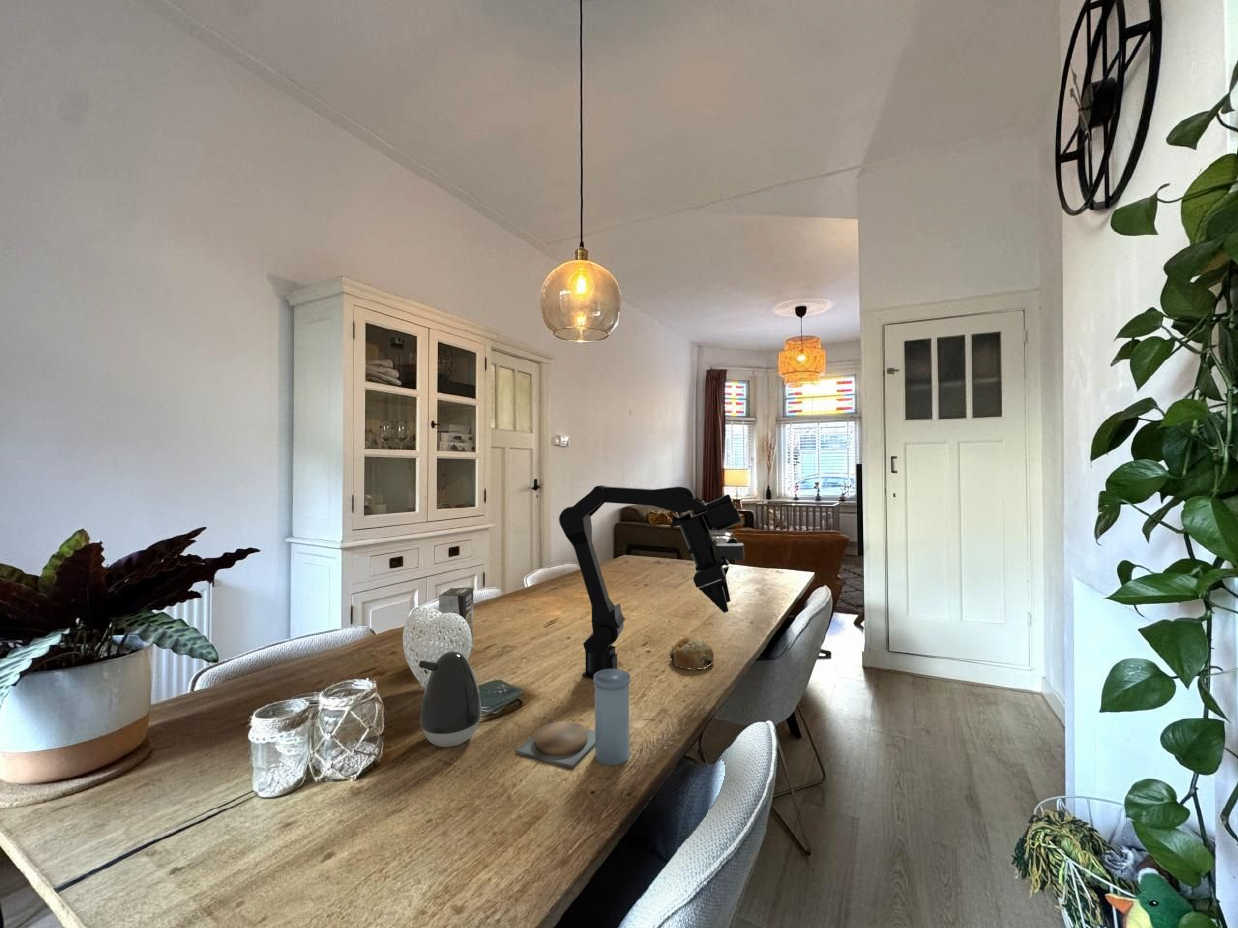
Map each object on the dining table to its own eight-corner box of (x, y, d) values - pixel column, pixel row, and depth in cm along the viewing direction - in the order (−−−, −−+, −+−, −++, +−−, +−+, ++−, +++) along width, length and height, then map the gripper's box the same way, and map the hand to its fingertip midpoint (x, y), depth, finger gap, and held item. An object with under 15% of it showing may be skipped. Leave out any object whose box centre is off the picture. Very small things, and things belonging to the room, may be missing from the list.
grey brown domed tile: (515, 753, 85) (515, 743, 85) (551, 723, 95) (551, 714, 95) (572, 769, 80) (572, 758, 80) (604, 735, 90) (604, 726, 90)
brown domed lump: (693, 688, 118) (706, 660, 116) (659, 661, 123) (670, 633, 121) (712, 674, 126) (725, 648, 124) (679, 649, 131) (691, 623, 129)
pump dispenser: (419, 731, 92) (419, 646, 92) (478, 720, 96) (478, 639, 96) (418, 761, 83) (418, 667, 83) (484, 748, 86) (484, 658, 87)
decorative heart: (485, 691, 109) (484, 610, 109) (443, 711, 100) (442, 623, 100) (432, 673, 119) (431, 599, 119) (389, 690, 110) (389, 610, 110)
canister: (587, 760, 82) (586, 679, 83) (604, 742, 88) (603, 666, 88) (621, 769, 80) (620, 686, 80) (636, 750, 85) (635, 672, 85)
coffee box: (463, 660, 127) (463, 595, 127) (437, 660, 127) (437, 595, 127) (474, 647, 136) (474, 586, 136) (450, 647, 136) (450, 587, 136)
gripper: (731, 530, 102) (763, 604, 100) (734, 522, 120) (762, 585, 118) (680, 550, 105) (710, 623, 103) (691, 539, 123) (717, 601, 121)
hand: (727, 606), depth 111 cm, fingers open, 9 cm apart
